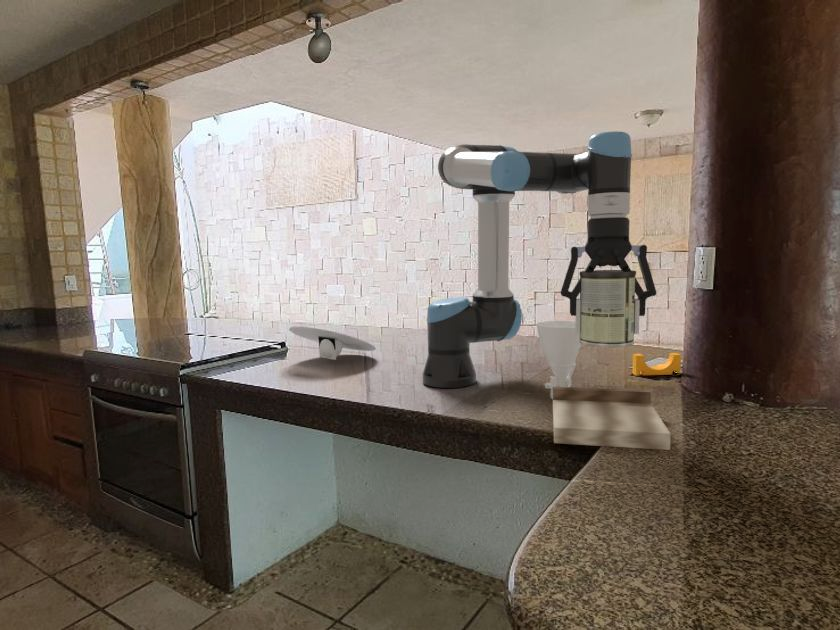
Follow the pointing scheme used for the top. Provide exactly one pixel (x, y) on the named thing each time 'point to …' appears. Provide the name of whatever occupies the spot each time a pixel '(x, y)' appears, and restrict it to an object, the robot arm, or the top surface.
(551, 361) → the rocket engine
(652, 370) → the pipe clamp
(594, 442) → the birch platform
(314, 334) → the grey cake stand
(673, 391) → the top surface
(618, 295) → the coffee can
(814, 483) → the top surface
